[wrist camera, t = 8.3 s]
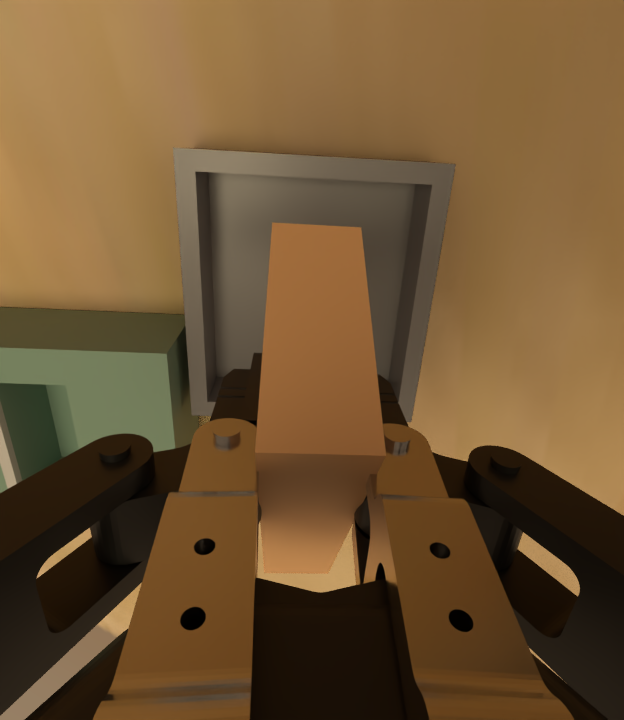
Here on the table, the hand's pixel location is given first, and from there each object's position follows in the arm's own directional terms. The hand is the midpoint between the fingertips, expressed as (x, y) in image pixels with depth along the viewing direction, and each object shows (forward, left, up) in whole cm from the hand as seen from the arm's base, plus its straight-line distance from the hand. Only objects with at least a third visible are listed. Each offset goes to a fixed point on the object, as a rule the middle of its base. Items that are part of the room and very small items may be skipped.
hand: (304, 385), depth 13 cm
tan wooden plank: (0, +5, -1) cm, 5 cm away
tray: (0, 0, -11) cm, 11 cm away
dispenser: (+12, +7, -11) cm, 18 cm away
